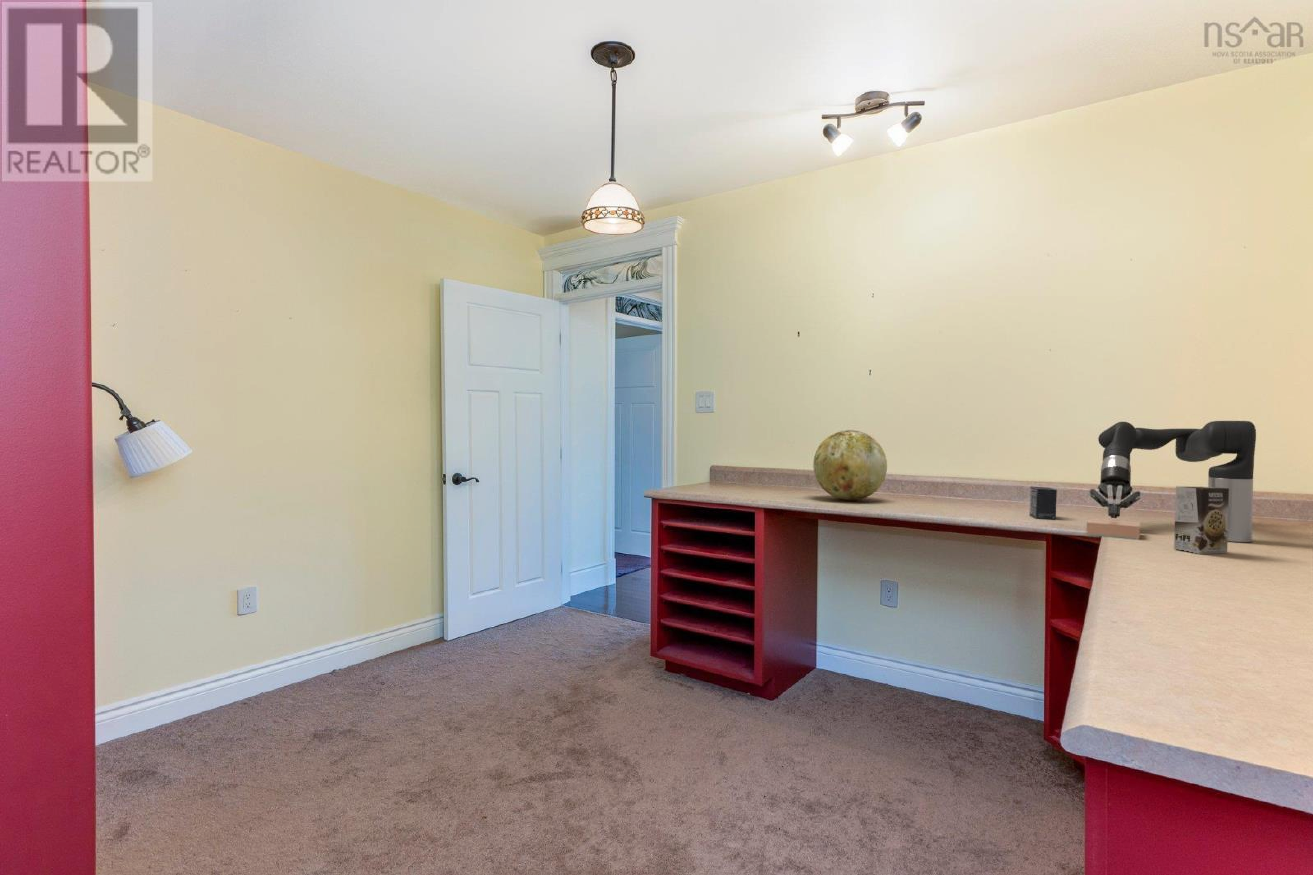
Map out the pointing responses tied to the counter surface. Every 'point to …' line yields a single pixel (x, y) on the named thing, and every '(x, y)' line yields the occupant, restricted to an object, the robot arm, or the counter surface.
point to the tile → (1113, 528)
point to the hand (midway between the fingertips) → (1113, 516)
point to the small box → (1043, 503)
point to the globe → (850, 465)
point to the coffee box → (1201, 519)
